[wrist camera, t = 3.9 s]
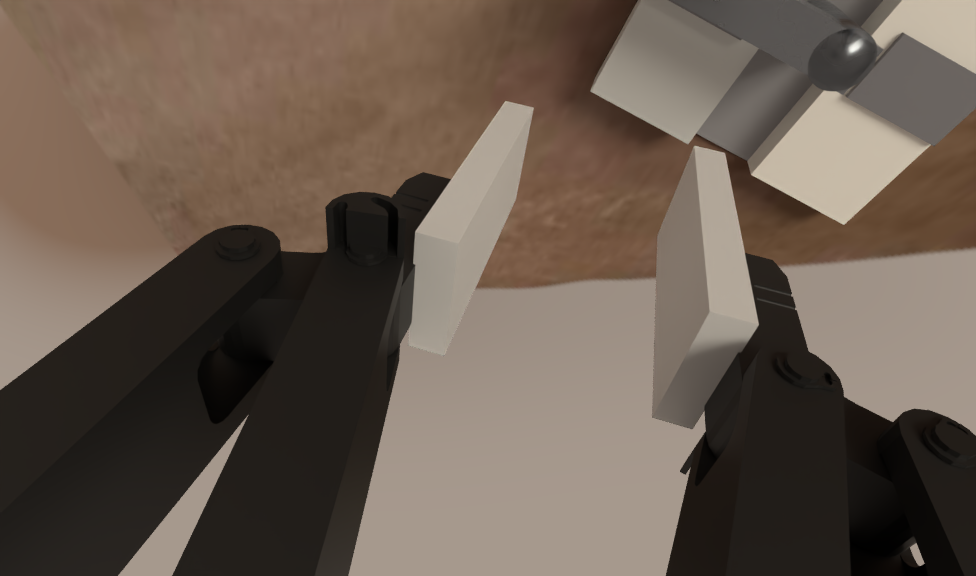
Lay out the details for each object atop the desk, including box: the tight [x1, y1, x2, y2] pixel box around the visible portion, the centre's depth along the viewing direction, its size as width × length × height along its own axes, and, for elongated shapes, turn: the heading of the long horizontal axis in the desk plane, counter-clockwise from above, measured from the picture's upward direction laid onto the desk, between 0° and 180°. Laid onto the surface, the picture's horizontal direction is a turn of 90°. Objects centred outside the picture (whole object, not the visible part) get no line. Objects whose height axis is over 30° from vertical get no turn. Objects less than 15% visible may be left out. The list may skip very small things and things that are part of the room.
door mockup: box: [590, 0, 976, 225], centre depth 26 cm, size 16×14×3 cm
